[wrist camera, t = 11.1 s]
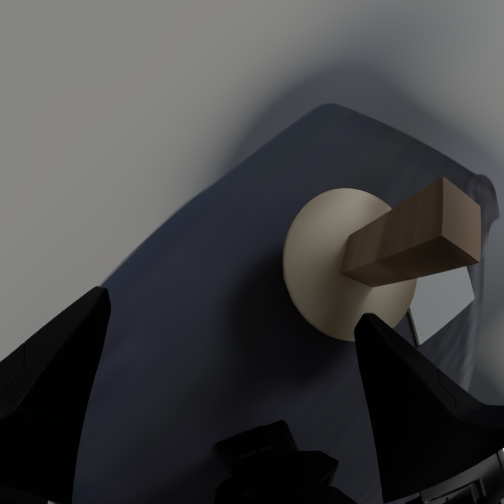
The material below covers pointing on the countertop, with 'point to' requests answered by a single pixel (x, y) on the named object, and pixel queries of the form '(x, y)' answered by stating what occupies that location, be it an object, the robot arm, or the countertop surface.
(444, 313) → the mat
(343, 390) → the countertop surface
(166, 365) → the countertop surface
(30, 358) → the robot arm
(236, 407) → the countertop surface
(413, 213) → the lid
